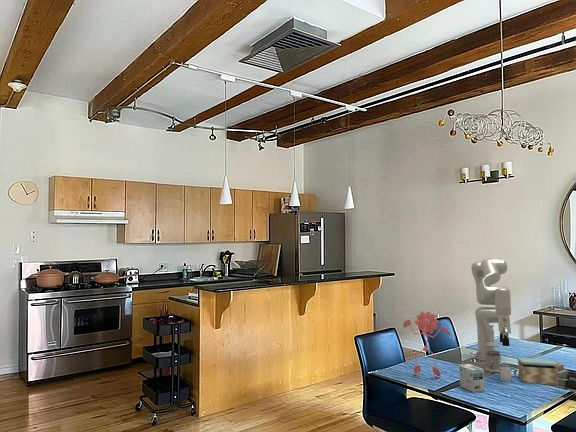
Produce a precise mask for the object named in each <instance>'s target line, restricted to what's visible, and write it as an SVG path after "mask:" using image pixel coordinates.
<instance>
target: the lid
mask: <svg viewBox="0 0 576 432" xmlns="http://www.w3.org/2000/svg"><path fill="white" fill-rule="evenodd" d="M518 360H519V361H520V362H521V363H522V364H531V365H546V366H558V364H557V363H555V362H556V361H554V360H552V359H544V358H542V359H541V358H528V357H526V358H525V357H517V361H518Z"/></svg>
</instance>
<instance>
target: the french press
mask: <svg viewBox="0 0 576 432" xmlns="http://www.w3.org/2000/svg"><path fill="white" fill-rule="evenodd" d="M490 327H492V328H493V329H492V341H493V330H494V327H495V326H494V325H493V324H491V325H490ZM485 345H486V346H488V347H494V348H500V347H501V345H500V344H499V343H498V342H495V341H494V342H488V343H486V344H485ZM486 352H487V353H486V360H487V361H485V367H484V368H483V369H484V371H485V370H486V371H488V372H496V373H500V371H499V367H502V364H501V363H502V361H501V360H502V359H501V352H500V351H498V350H495V351H492V349H491V350H489V349H488V351H486ZM491 357H492V358H491ZM490 359H492V360H490Z"/></svg>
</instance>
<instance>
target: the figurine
mask: <svg viewBox="0 0 576 432" xmlns="http://www.w3.org/2000/svg"><path fill="white" fill-rule="evenodd" d="M416 318H417V320H415V321H414V323H415V324H416V325H417V330H418V331H421V332H414V329H413V325H412V320H411V319H410V318H409V319H406V320H405V321H404V322H403V325H402V326H403V328H407V327H409V326H410V329H411V332H412V334H413V335H424V336H425V337H426V338H427V339H426V343H425V346H424V347H422V348H423V349H422V350H420V351H418V352H416V353H415V361H416V365H414V367H413V372H414V374H415V376H416V378H418V374H419V373H420V372H421V371H422V370H421V369H422V368H421V366H420V364H418V359H417V354H419V353H420V352H421V353H422V351H424V352H430V353H431V354H432V355H434V365H436V362H437V361H436V359H437V355H436V354H435V353H433V352H432V351H431V350H430V349H429V347H428V342H429V339H430V338H429V337H431V338H432V339H434V338H435V337H436V336H437V335H438V334H439V332H440V331H443V332H444V333H445V334H446V335H448V336H449V337H451V332H450V331H449V329H448V328H446V327H445V326H443V325H441V327H439V329H438V324H439V320H437V318H436V313H431V311H429V310H428V311H426V312H424V311H423V310H421V311H420V313H419V314H417V315H416ZM434 330H438V331H437V332H436V333H435V334H434V335H432V334H433V333H434ZM428 333H429V334H428ZM430 334H431V335H430ZM431 369H432V373H433V378H432V379H434V380H435V375H436V376H438V377H439V378H440V377H441V371H440V370H439V369H438V368H437V367H436V366H432V368H431Z"/></svg>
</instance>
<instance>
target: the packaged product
mask: <svg viewBox="0 0 576 432" xmlns="http://www.w3.org/2000/svg"><path fill="white" fill-rule="evenodd" d="M554 362H555V363H557V364H558V366H555V367H556V368H557V369H558V375H561V374H563V373H566V372H567V371H568V369H564V368H565V367H564V363H562V362H558V361H554ZM568 372H569V371H568Z"/></svg>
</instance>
